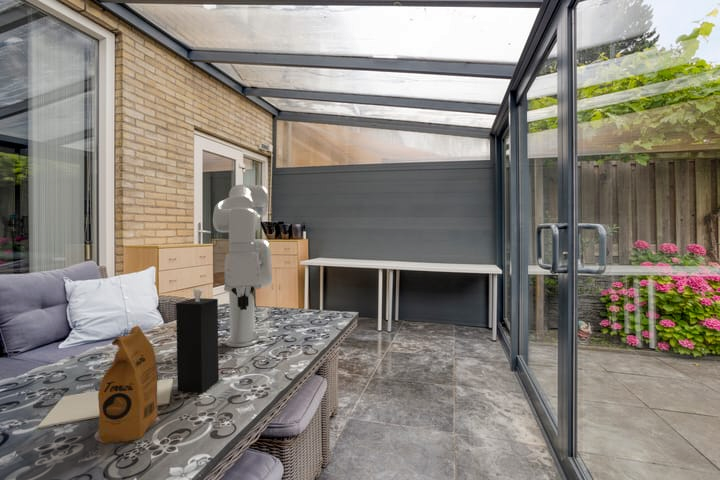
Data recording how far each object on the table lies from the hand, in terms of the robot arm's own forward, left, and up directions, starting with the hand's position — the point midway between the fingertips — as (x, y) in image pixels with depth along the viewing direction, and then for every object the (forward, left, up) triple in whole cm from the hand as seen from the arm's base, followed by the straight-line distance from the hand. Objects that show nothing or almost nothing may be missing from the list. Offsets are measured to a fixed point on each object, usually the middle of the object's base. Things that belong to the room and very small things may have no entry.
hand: (243, 309), depth 103 cm
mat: (+32, 0, -21) cm, 39 cm away
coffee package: (+26, +17, -21) cm, 38 cm away
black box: (+12, 0, -21) cm, 25 cm away
